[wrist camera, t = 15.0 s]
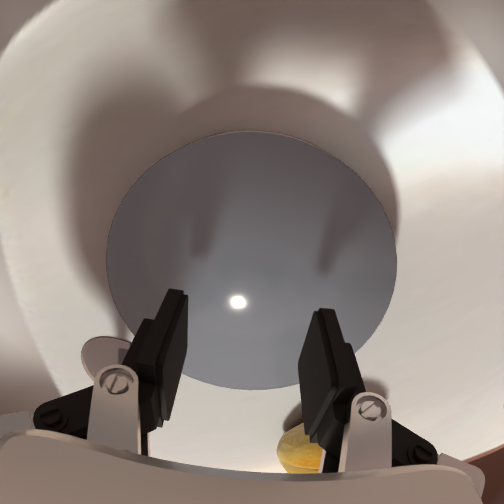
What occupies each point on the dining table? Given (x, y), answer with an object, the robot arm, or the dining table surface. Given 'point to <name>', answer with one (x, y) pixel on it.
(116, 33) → the dining table surface
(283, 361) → the plate
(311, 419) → the robot arm
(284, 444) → the bread roll
